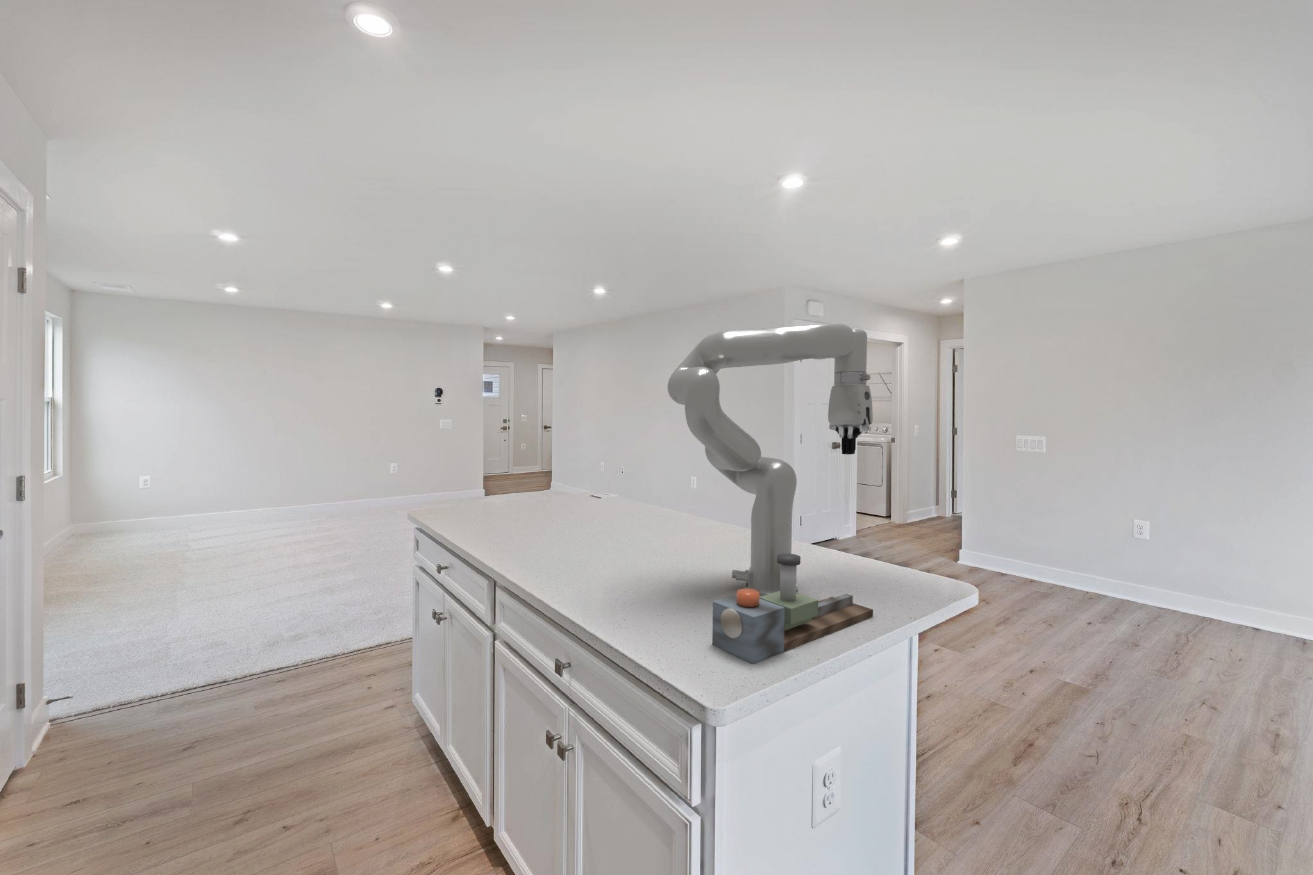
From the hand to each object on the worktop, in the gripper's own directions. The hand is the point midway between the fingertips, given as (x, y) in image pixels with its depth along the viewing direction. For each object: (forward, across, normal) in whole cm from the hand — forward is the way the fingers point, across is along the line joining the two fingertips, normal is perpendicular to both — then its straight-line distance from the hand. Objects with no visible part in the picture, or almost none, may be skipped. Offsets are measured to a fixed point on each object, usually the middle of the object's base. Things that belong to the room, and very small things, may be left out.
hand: (848, 453), depth 142 cm
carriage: (+30, -13, +38) cm, 50 cm away
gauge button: (+24, -13, +50) cm, 56 cm away
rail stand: (+32, -13, +35) cm, 50 cm away
